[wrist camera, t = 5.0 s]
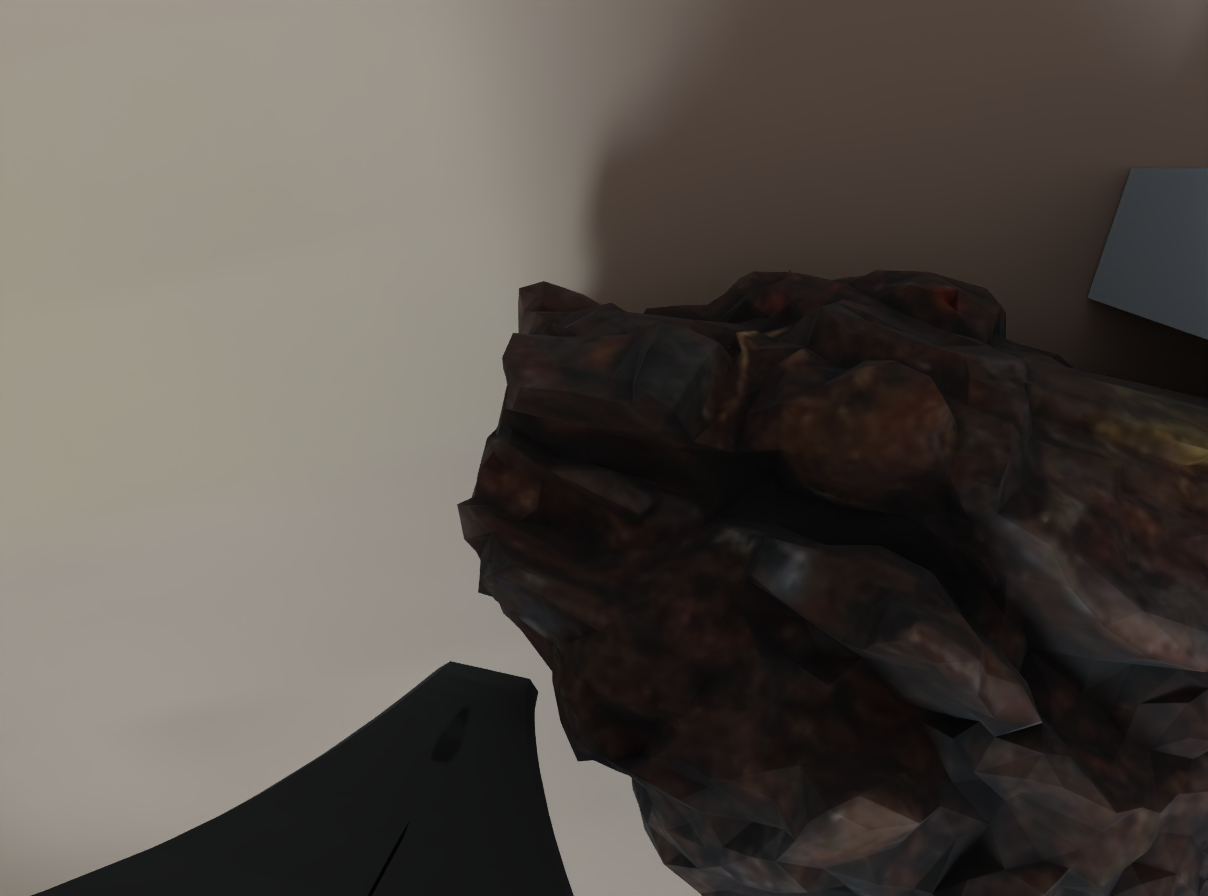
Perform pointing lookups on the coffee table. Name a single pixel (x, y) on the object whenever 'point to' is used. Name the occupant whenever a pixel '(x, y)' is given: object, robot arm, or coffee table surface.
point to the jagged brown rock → (861, 588)
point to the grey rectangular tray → (1159, 249)
